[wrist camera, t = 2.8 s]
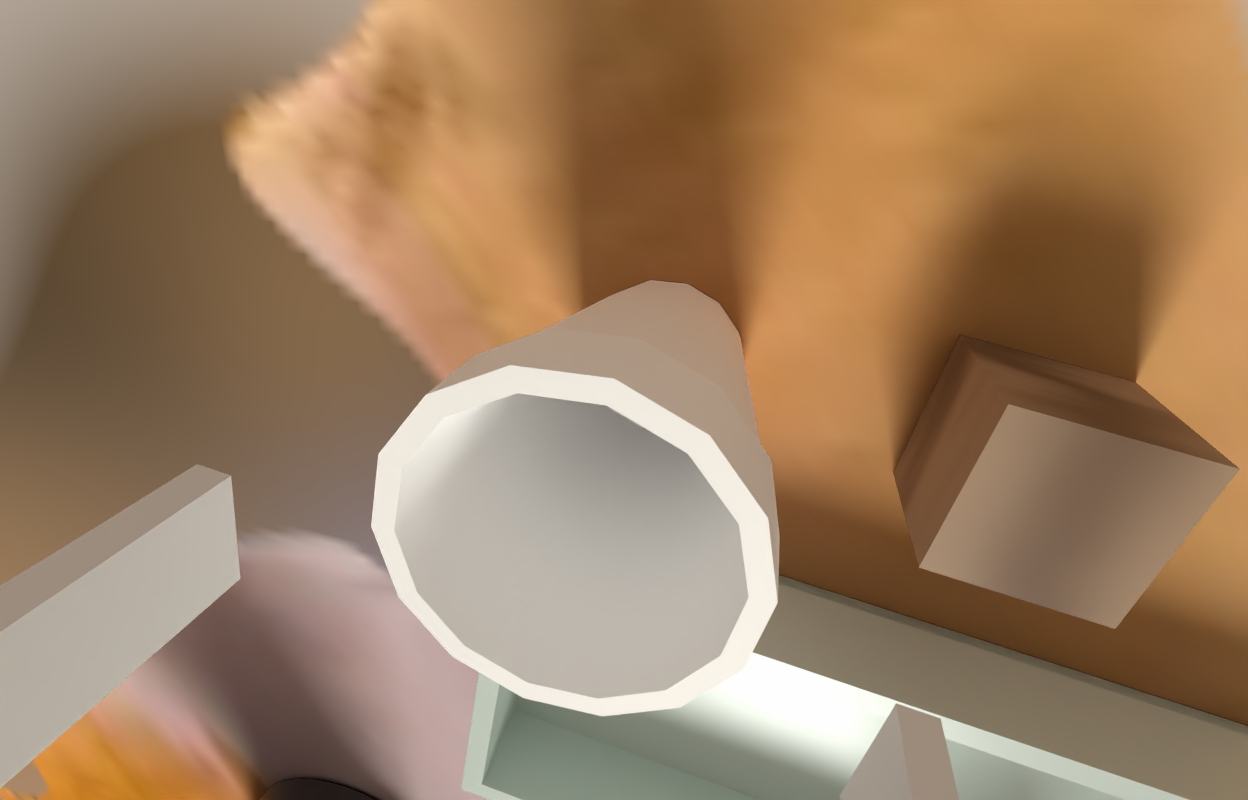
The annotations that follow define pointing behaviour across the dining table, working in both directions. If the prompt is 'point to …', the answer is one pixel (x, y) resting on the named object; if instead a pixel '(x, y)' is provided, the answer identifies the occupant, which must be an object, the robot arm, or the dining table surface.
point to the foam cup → (590, 507)
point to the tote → (861, 724)
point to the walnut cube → (1051, 481)
